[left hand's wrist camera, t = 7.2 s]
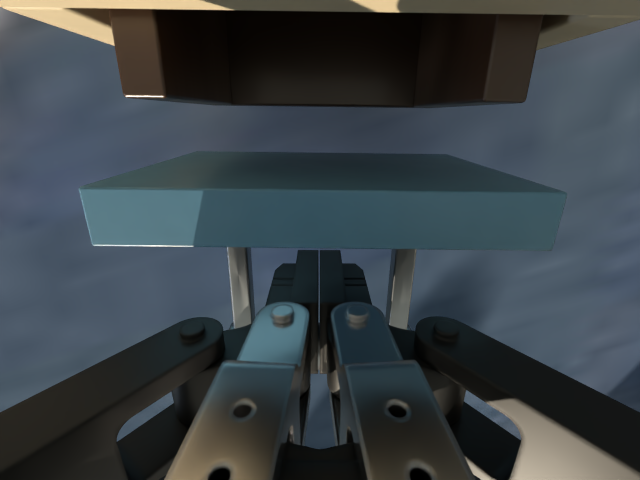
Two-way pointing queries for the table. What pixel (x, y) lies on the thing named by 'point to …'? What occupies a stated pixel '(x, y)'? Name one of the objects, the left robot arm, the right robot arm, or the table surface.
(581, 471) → the left robot arm
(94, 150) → the table surface
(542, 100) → the table surface
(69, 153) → the table surface
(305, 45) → the drawer
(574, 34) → the beige cardboard box
